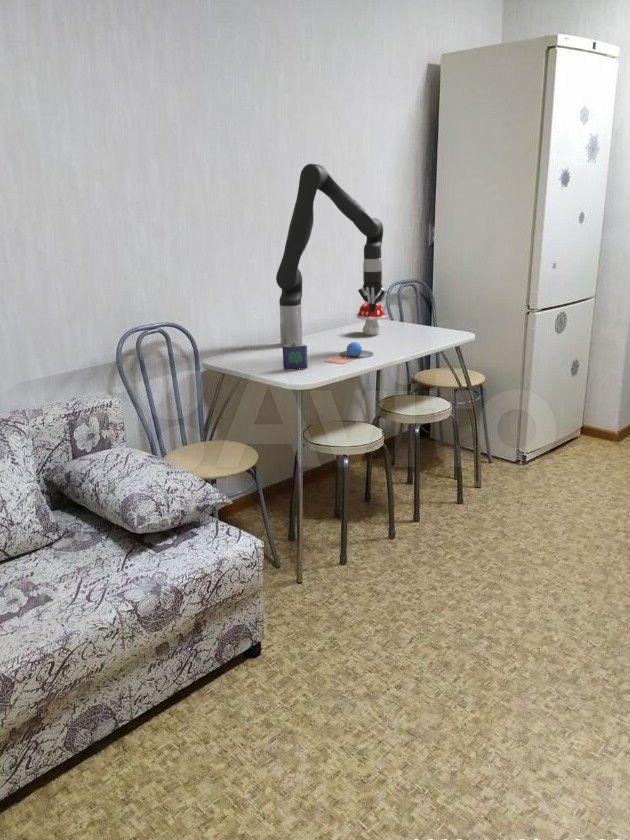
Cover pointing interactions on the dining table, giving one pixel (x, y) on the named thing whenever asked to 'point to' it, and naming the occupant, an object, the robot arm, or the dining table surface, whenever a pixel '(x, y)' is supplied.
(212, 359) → the dining table surface
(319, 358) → the dining table surface
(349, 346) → the ball
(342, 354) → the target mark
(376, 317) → the decorative mushroom
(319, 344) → the dining table surface
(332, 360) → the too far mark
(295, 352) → the flask
